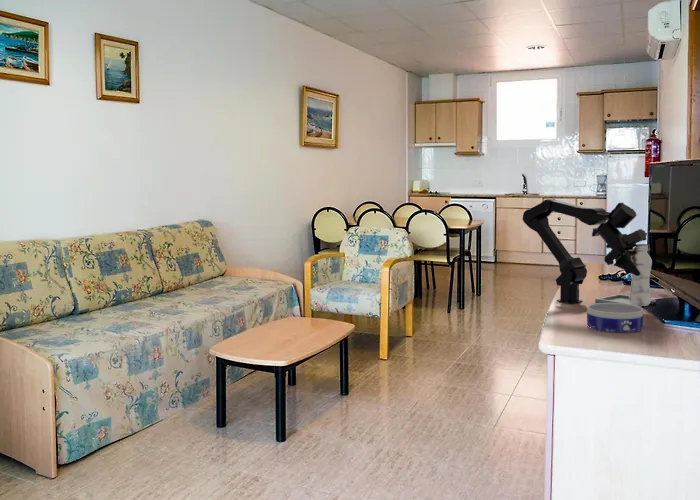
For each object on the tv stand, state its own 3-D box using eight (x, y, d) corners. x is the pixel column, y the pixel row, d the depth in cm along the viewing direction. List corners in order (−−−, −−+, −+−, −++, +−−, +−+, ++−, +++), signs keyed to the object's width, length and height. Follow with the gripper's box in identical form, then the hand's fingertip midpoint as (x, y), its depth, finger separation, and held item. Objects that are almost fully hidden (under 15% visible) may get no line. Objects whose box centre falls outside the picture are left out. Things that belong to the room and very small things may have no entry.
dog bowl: (609, 335, 171) (610, 314, 170) (575, 324, 185) (576, 304, 185) (655, 331, 175) (655, 310, 174) (618, 320, 189) (618, 300, 189)
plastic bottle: (645, 304, 200) (647, 243, 198) (654, 308, 194) (656, 245, 192) (625, 304, 201) (627, 243, 199) (632, 308, 194) (634, 245, 192)
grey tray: (632, 309, 204) (632, 304, 204) (595, 302, 215) (595, 298, 215) (655, 303, 212) (655, 299, 211) (618, 298, 223) (618, 294, 223)
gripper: (614, 222, 192) (647, 260, 184) (645, 219, 203) (678, 255, 195) (591, 245, 199) (621, 283, 192) (622, 241, 210) (653, 277, 202)
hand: (644, 274), depth 195 cm, fingers closed on plastic bottle, 6 cm apart
